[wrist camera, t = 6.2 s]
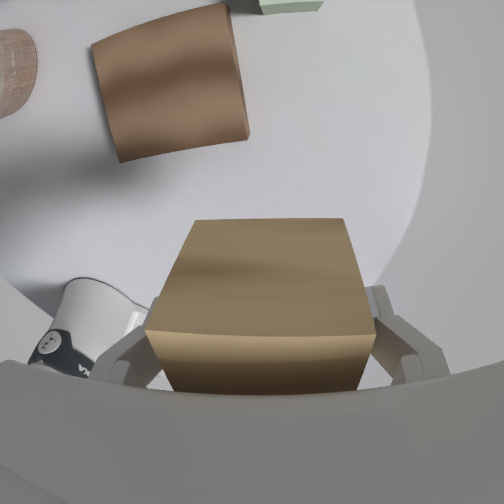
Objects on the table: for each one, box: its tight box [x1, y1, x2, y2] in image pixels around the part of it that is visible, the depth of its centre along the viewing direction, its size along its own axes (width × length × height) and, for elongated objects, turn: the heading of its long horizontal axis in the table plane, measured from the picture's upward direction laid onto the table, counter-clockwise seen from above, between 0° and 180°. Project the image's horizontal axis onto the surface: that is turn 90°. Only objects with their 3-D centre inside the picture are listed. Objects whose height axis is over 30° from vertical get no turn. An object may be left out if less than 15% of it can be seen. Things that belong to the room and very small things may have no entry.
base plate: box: [91, 2, 250, 163], centre depth 23 cm, size 12×12×2 cm
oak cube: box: [144, 218, 377, 395], centre depth 11 cm, size 6×6×6 cm
